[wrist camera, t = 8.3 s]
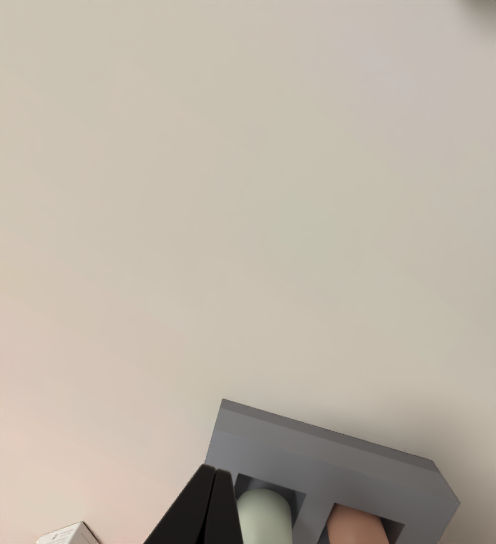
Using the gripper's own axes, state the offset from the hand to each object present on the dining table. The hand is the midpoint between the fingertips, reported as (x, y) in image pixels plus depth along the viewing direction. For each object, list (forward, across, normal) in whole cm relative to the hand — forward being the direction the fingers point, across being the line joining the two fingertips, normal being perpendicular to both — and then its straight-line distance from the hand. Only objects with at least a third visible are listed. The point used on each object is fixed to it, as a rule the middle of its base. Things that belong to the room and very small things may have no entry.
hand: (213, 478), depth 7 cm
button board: (+12, -8, +17) cm, 22 cm away
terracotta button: (+11, -11, +13) cm, 20 cm away
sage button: (+9, -5, +13) cm, 16 cm away
